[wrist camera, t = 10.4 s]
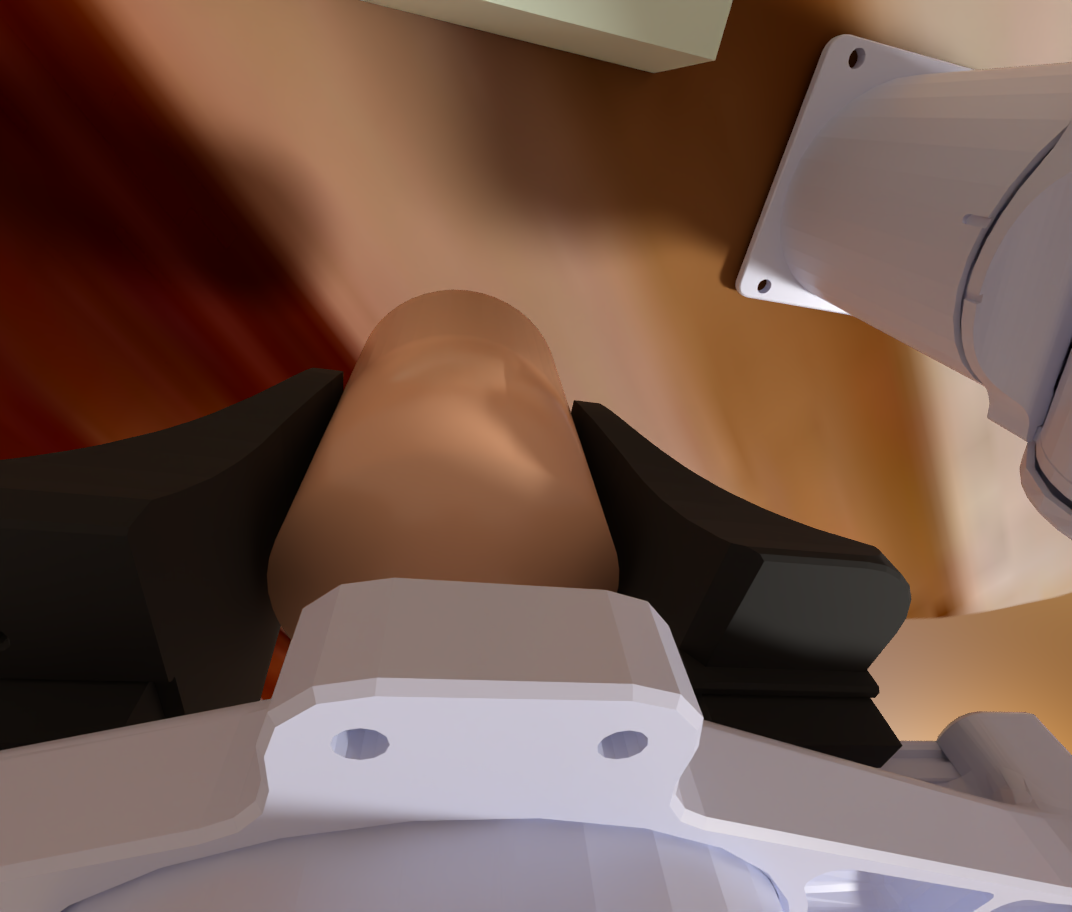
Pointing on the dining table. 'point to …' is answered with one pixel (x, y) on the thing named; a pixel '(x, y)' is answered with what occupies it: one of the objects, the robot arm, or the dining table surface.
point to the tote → (595, 26)
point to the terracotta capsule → (446, 465)
